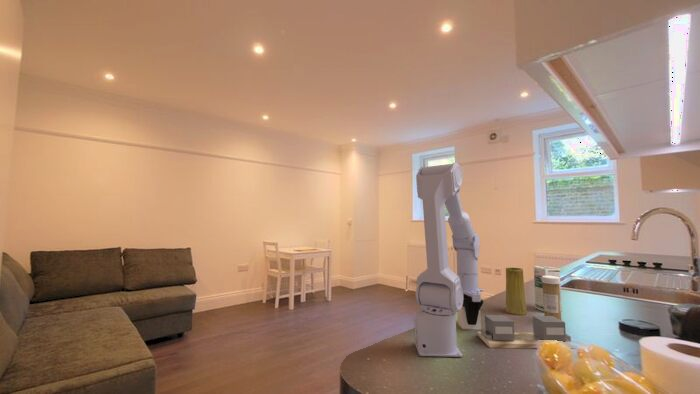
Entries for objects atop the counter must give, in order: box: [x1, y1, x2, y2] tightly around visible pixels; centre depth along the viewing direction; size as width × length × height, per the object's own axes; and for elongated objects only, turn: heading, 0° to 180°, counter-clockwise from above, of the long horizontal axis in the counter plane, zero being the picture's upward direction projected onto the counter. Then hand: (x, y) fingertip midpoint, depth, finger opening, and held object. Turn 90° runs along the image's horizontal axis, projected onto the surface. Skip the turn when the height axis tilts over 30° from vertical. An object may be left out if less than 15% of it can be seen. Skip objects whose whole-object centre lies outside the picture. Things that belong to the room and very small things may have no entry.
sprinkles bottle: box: [542, 276, 562, 320], centre depth 93 cm, size 5×5×13 cm
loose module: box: [457, 306, 482, 331], centre depth 89 cm, size 5×4×5 cm
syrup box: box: [533, 265, 563, 313], centre depth 105 cm, size 6×6×14 cm
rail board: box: [477, 314, 574, 349], centre depth 77 cm, size 20×8×6 cm, turn 87°
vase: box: [505, 267, 528, 316], centre depth 103 cm, size 6×6×14 cm
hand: (469, 321), depth 89 cm, fingers closed on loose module, 4 cm apart
